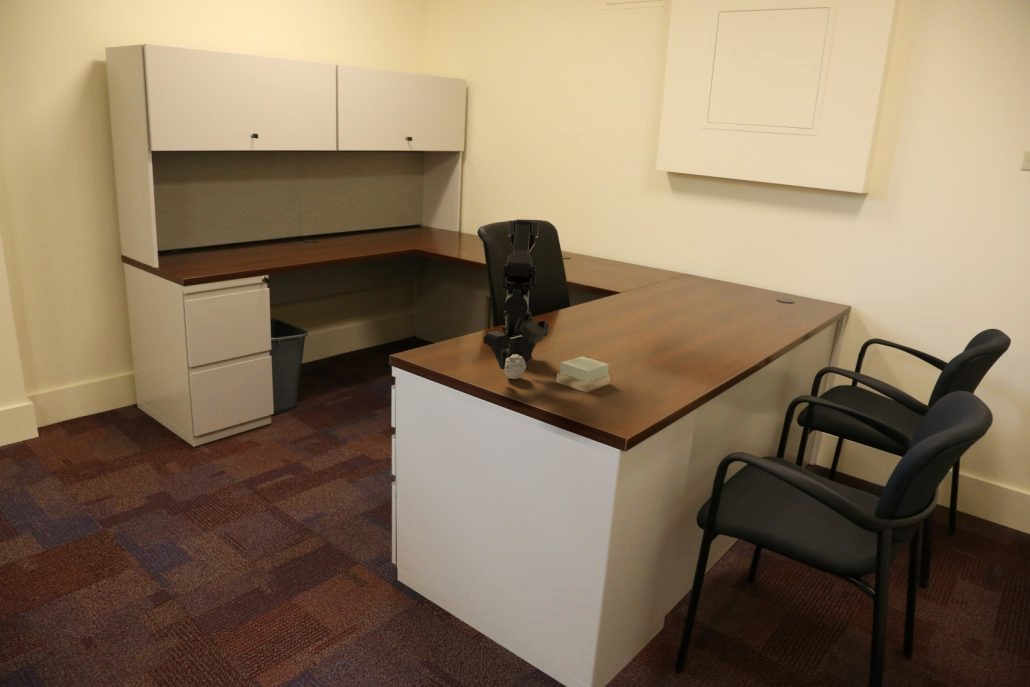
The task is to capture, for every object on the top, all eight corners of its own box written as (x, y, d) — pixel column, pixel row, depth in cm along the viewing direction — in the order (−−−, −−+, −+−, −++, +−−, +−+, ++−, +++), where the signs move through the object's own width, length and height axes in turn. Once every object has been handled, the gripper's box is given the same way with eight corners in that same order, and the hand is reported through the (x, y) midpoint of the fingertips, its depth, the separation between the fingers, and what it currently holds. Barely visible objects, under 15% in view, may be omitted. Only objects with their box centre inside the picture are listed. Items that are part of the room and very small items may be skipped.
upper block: (559, 373, 190) (560, 362, 190) (581, 366, 197) (582, 356, 196) (586, 382, 184) (587, 371, 184) (607, 375, 191) (608, 364, 190)
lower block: (556, 383, 191) (556, 373, 190) (579, 376, 198) (580, 365, 197) (585, 394, 185) (586, 383, 184) (609, 385, 192) (610, 375, 191)
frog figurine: (506, 384, 188) (507, 358, 186) (499, 375, 194) (500, 350, 192) (528, 382, 190) (529, 357, 188) (521, 374, 196) (522, 349, 194)
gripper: (515, 320, 175) (512, 381, 179) (564, 309, 188) (560, 366, 192) (483, 311, 182) (481, 369, 186) (532, 301, 195) (529, 356, 200)
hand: (514, 365), depth 191 cm, fingers open, 9 cm apart
